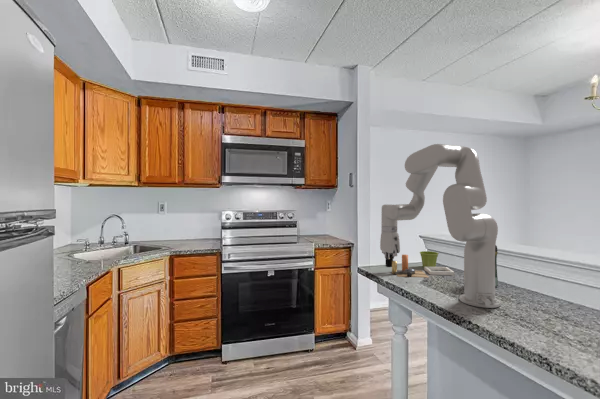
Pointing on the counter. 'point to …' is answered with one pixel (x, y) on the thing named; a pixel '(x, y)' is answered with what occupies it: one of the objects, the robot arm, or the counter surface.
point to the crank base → (417, 274)
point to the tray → (446, 272)
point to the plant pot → (429, 258)
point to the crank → (395, 271)
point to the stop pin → (404, 262)
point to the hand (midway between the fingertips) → (389, 266)
